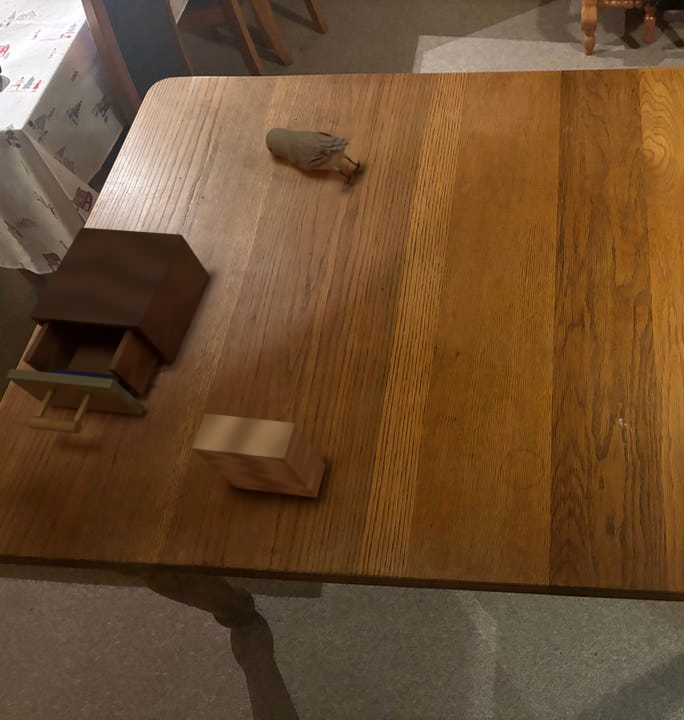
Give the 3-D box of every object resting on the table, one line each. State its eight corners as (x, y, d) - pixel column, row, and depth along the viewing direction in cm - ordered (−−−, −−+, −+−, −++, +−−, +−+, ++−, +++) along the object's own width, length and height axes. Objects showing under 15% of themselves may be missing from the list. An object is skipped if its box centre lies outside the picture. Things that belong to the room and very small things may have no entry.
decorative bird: (283, 144, 108) (267, 106, 101) (368, 168, 104) (357, 130, 97) (265, 166, 105) (247, 128, 99) (351, 192, 101) (339, 154, 95)
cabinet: (172, 364, 87) (137, 326, 80) (72, 354, 89) (28, 316, 81) (210, 276, 95) (181, 234, 87) (117, 269, 96) (80, 227, 89)
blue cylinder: (68, 377, 85) (58, 394, 84) (57, 365, 83) (46, 382, 82) (133, 384, 84) (123, 401, 82) (123, 372, 82) (113, 389, 80)
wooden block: (236, 487, 78) (191, 448, 68) (246, 456, 80) (204, 413, 70) (316, 497, 77) (283, 458, 66) (325, 465, 79) (294, 422, 68)
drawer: (125, 451, 80) (90, 426, 74) (26, 439, 82) (-16, 414, 76) (180, 325, 89) (154, 293, 83) (90, 317, 91) (57, 285, 85)
